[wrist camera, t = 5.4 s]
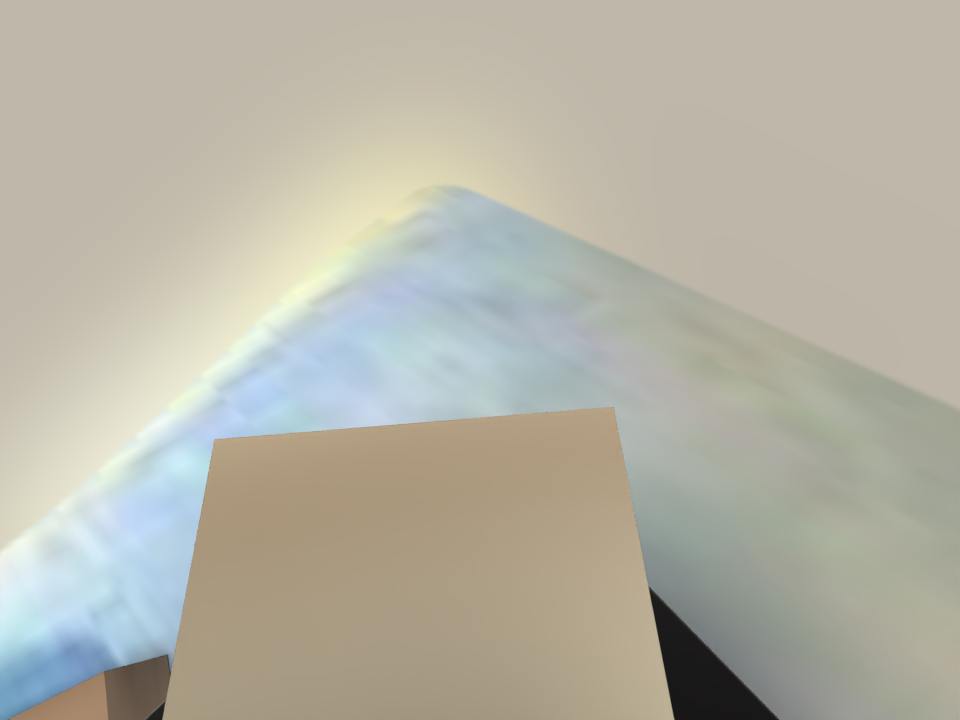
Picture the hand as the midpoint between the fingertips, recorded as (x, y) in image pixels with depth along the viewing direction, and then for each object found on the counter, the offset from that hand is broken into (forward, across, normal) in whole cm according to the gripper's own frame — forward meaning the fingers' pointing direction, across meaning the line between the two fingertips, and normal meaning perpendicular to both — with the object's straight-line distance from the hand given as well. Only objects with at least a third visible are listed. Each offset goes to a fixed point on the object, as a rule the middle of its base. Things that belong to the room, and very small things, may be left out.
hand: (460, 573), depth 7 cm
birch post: (+4, 0, +5) cm, 7 cm away
